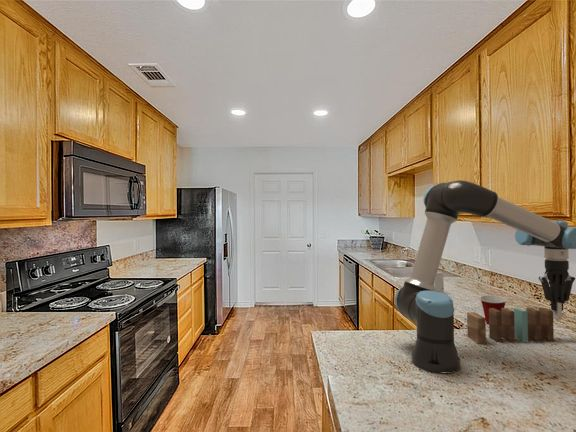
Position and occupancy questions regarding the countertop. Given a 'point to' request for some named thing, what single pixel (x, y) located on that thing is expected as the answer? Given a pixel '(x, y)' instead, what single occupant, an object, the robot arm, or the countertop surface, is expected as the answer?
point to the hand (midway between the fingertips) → (557, 318)
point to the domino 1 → (495, 325)
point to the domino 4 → (533, 324)
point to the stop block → (476, 327)
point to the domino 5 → (546, 324)
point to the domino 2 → (508, 324)
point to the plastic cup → (492, 304)
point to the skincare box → (439, 282)
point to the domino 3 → (521, 324)
